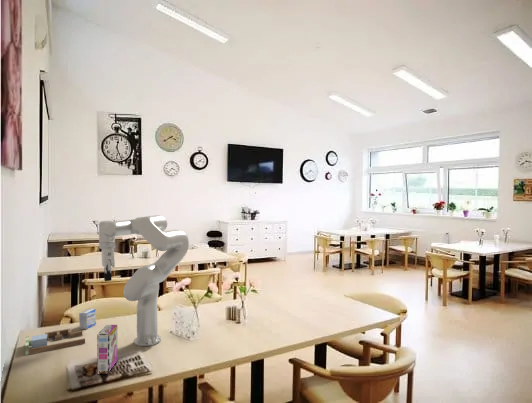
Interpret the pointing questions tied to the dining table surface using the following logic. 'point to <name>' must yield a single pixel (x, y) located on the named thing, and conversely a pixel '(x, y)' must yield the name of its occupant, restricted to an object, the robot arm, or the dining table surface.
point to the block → (39, 341)
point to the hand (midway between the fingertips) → (107, 280)
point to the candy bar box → (107, 348)
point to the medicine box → (87, 318)
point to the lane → (55, 336)
